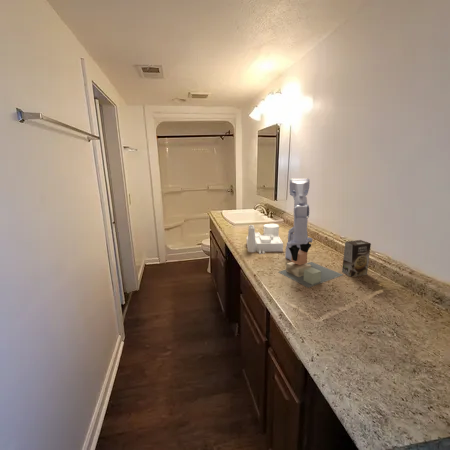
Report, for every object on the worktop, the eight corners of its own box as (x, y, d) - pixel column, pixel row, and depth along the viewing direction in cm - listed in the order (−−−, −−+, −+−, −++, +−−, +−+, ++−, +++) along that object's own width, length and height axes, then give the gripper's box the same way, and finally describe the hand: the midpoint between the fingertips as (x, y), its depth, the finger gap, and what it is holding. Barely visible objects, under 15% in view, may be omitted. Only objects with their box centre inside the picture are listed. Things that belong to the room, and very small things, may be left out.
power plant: (289, 254, 154) (290, 229, 150) (248, 254, 154) (248, 230, 151) (279, 236, 188) (279, 216, 184) (245, 237, 188) (245, 216, 185)
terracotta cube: (291, 261, 126) (291, 251, 125) (298, 259, 128) (299, 249, 127) (299, 265, 122) (299, 254, 120) (306, 262, 124) (307, 252, 123)
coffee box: (351, 279, 120) (354, 245, 116) (341, 273, 126) (344, 241, 122) (367, 276, 122) (371, 243, 118) (357, 271, 128) (360, 239, 125)
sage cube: (303, 280, 118) (304, 269, 117) (311, 277, 120) (312, 267, 119) (312, 284, 114) (313, 273, 112) (320, 281, 116) (321, 271, 115)
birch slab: (286, 271, 128) (286, 263, 127) (298, 267, 132) (298, 259, 131) (298, 277, 121) (298, 269, 120) (310, 273, 125) (311, 265, 124)
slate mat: (277, 273, 127) (277, 271, 127) (311, 263, 139) (311, 261, 138) (308, 289, 111) (308, 287, 111) (343, 276, 123) (343, 274, 122)
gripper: (295, 235, 114) (293, 265, 118) (318, 230, 122) (316, 258, 125) (283, 232, 120) (282, 260, 124) (306, 227, 128) (305, 254, 131)
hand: (298, 259), depth 125 cm, fingers closed on terracotta cube, 5 cm apart
